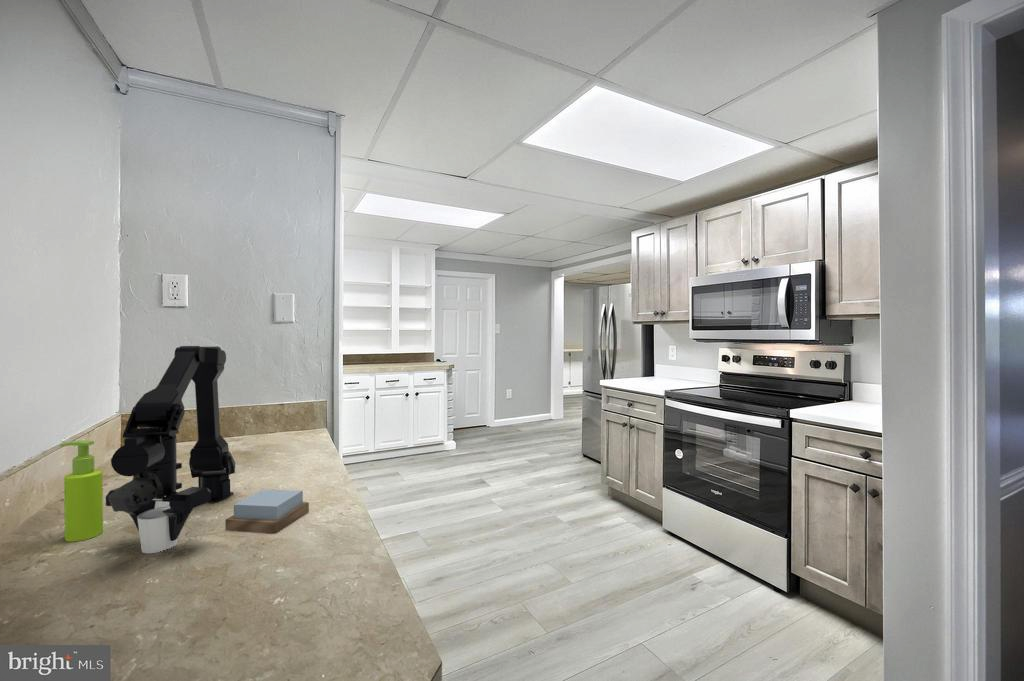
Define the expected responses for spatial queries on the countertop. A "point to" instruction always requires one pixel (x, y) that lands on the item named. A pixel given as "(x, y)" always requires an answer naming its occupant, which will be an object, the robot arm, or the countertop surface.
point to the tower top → (268, 504)
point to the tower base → (266, 521)
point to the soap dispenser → (83, 496)
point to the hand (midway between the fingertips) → (159, 539)
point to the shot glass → (154, 530)
